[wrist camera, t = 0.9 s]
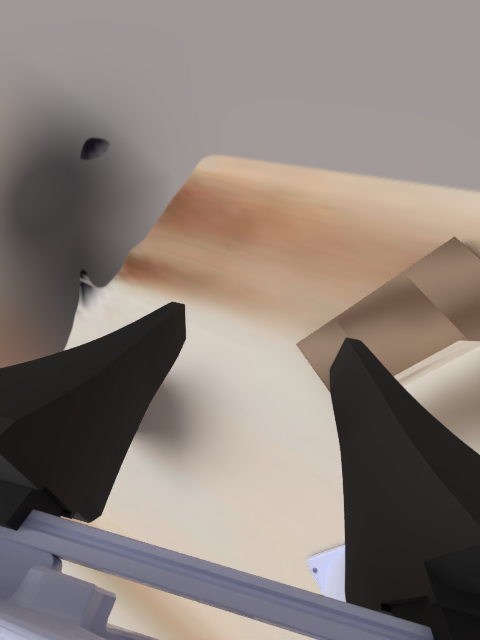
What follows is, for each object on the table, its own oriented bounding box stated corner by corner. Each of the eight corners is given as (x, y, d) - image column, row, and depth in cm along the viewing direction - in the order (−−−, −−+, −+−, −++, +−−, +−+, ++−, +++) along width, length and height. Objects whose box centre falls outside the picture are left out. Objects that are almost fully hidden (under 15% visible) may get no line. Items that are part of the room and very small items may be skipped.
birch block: (523, 408, 17) (572, 427, 13) (441, 443, 19) (465, 469, 15) (459, 340, 19) (487, 341, 15) (389, 378, 20) (399, 388, 17)
